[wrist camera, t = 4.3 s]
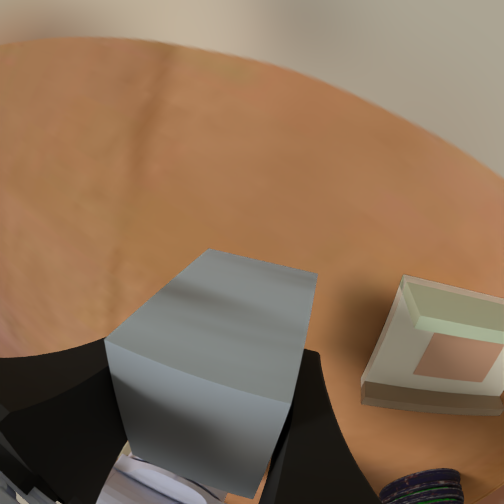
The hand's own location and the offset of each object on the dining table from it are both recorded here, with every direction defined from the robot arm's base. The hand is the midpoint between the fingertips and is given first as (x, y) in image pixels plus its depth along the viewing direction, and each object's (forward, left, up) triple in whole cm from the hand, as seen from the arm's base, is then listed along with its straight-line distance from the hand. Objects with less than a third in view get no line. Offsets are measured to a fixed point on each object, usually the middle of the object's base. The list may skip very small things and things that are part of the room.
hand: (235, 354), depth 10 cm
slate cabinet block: (0, 0, -2) cm, 2 cm away
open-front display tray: (-3, -13, -8) cm, 16 cm away
